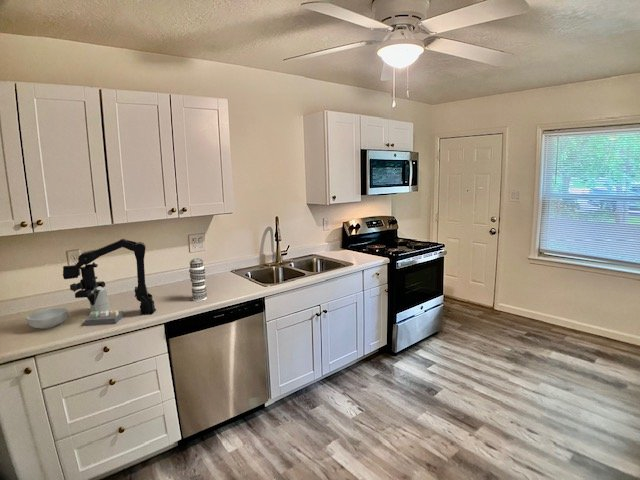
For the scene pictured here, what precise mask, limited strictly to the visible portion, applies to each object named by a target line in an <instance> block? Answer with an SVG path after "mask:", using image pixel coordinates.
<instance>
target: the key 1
mask: <svg viewBox="0 0 640 480" xmlns="http://www.w3.org/2000/svg"><path fill="white" fill-rule="evenodd" d="M98 316H99V311H94V312H90V313H89V317H90V318H95V317H98Z"/></svg>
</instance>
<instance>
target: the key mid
mask: <svg viewBox="0 0 640 480" xmlns="http://www.w3.org/2000/svg"><path fill="white" fill-rule="evenodd" d="M109 312H110V310H109V311H102V312H101V313H100V317H107V316H108V315H109Z"/></svg>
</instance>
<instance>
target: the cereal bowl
mask: <svg viewBox="0 0 640 480" xmlns="http://www.w3.org/2000/svg"><path fill="white" fill-rule="evenodd" d="M68 313H69V312H68V309H67V308H66V307H60V306H56V307H49V308H44V309H40V310H37V311H33V312H31V313H30V314H28V315H27V316H26V321H27V324H28V325H29V326H30V327H32V328H35V329H42V330H43V329H44V330H47V329H53V328H54V327H57V326H59V325H60V324H62V323H63V322H65V320H66V319H67V318H68Z"/></svg>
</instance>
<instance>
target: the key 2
mask: <svg viewBox="0 0 640 480" xmlns="http://www.w3.org/2000/svg"><path fill="white" fill-rule="evenodd" d="M118 311H119V309H116V310H114V309H112V310H111V311H109V312H110V316H117V315H118V314H119V312H118Z"/></svg>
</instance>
